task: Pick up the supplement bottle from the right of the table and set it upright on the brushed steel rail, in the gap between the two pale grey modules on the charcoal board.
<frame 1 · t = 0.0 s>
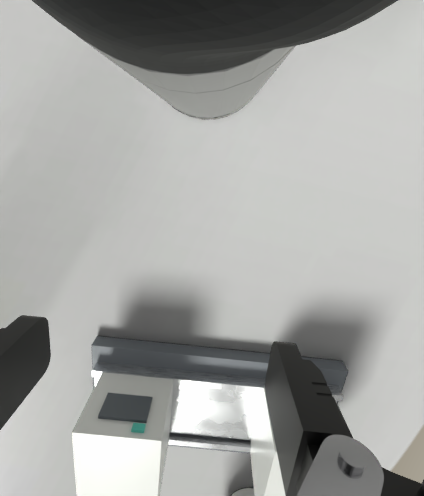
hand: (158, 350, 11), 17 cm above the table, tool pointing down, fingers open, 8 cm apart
mounted modules: (213, 443, 28), on the rail board, point 6 cm above the table
rail board: (214, 395, 34), on the table
steel rail: (213, 412, 32), on the rail board, point 2 cm above the table
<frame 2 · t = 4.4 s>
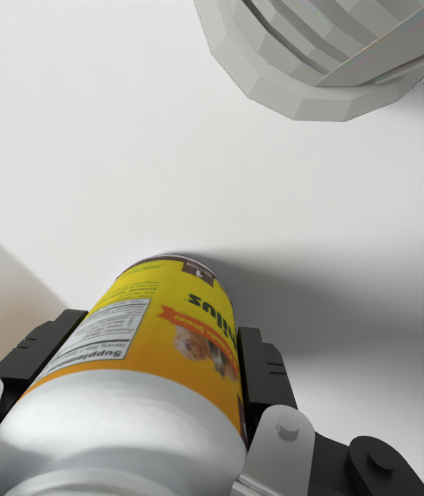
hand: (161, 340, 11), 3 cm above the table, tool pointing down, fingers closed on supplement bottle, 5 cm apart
supplement bottle: (173, 304, 14), on the table, touching gripper
when the fingers open (6 cm above the table, at t = 12.3 s): supplement bottle drops 1 cm, resting on steel rail.
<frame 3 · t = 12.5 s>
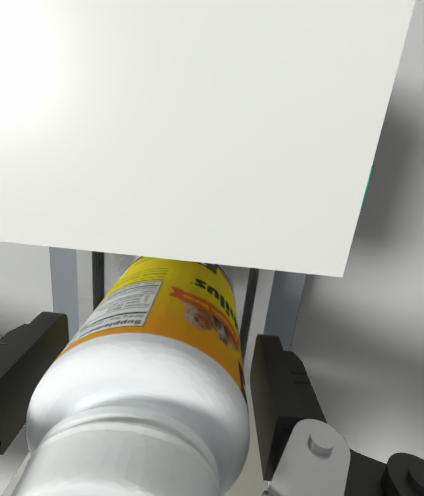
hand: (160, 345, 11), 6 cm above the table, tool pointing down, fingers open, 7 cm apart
mounted modules: (166, 336, 11), on the rail board, point 6 cm above the table
rail board: (180, 276, 17), on the table
steel rail: (175, 293, 15), on the rail board, point 2 cm above the table
supplement bottle: (178, 292, 15), point 2 cm above the table, touching steel rail
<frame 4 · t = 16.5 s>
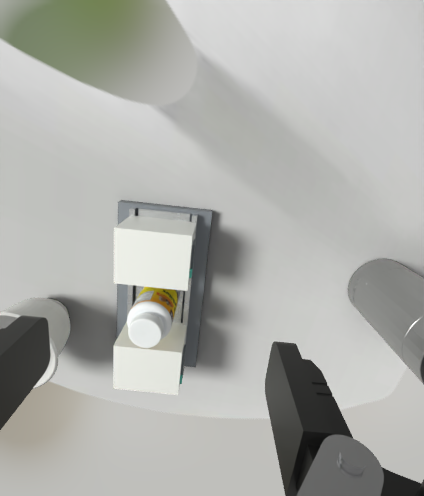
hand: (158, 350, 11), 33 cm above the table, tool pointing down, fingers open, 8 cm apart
mounted modules: (155, 305, 41), on the rail board, point 6 cm above the table
rail board: (162, 287, 46), on the table
steel rail: (159, 294, 44), on the rail board, point 2 cm above the table
teacup: (43, 313, 48), on the table
supplement bottle: (160, 293, 44), point 2 cm above the table, touching steel rail
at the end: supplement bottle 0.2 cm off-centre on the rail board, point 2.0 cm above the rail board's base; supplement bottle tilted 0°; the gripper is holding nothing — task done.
